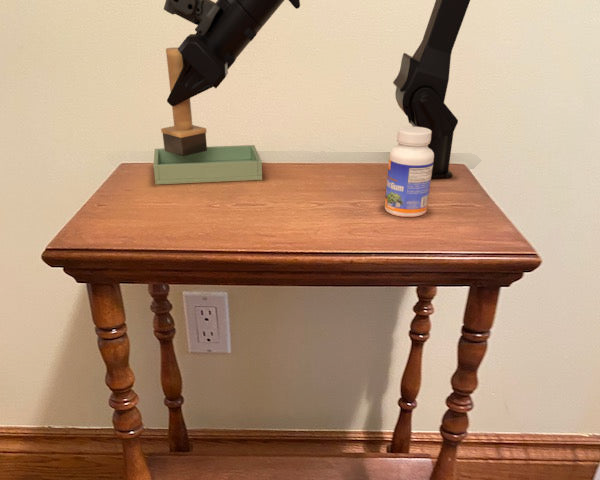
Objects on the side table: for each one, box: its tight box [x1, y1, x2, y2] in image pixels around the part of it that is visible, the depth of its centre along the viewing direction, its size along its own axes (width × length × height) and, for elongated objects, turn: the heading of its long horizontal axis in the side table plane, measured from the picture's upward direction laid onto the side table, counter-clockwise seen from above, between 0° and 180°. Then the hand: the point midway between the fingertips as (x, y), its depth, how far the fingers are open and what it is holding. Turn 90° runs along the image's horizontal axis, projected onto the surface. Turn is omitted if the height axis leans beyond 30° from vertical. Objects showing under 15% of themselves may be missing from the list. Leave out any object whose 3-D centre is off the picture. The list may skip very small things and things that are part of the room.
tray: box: [153, 144, 263, 186], centre depth 93 cm, size 15×10×3 cm, turn 100°
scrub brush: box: [160, 47, 208, 156], centre depth 87 cm, size 5×5×13 cm
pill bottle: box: [384, 126, 434, 218], centre depth 77 cm, size 5×5×10 cm
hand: (171, 101), depth 87 cm, fingers closed on scrub brush, 2 cm apart
